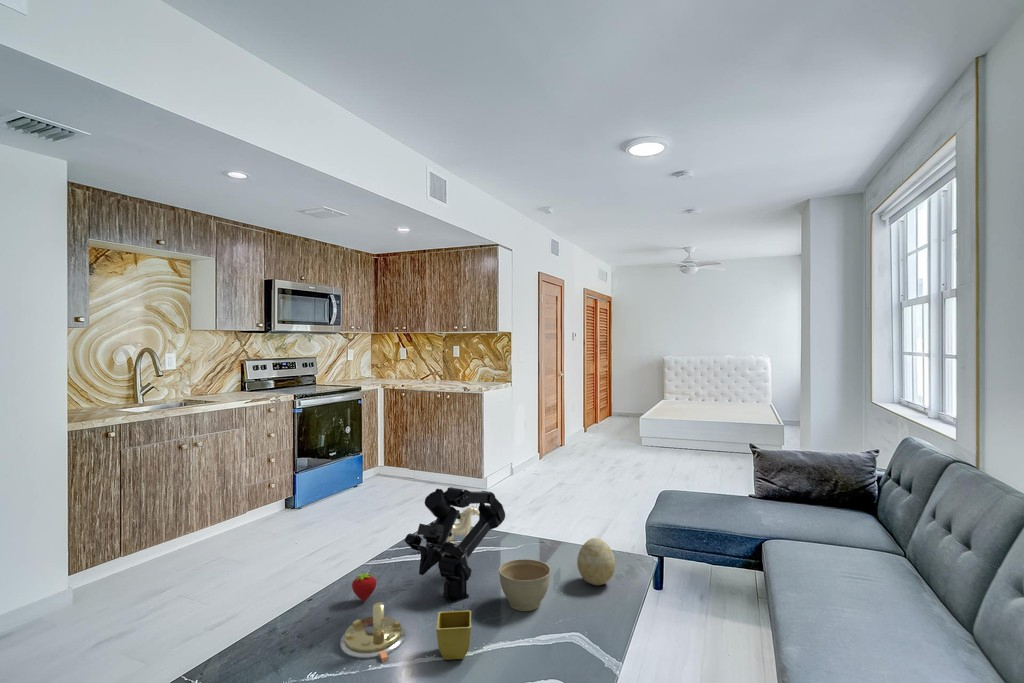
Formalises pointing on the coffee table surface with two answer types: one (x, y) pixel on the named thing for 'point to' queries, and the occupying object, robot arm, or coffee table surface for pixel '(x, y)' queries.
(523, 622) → the coffee table surface
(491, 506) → the robot arm
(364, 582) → the strawberry
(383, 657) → the tab
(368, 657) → the base plate
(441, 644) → the flower pot
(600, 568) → the fossilized egg
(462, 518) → the unicorn
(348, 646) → the crank disc
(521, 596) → the planter bowl
